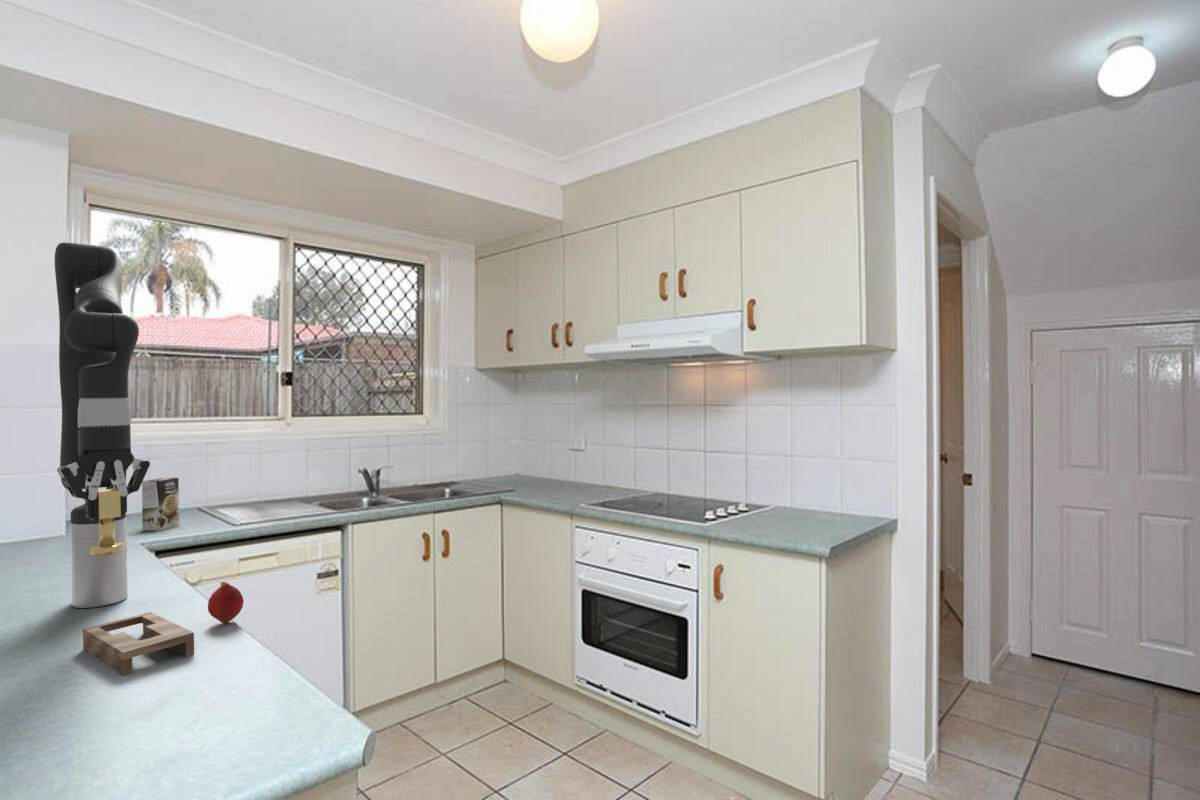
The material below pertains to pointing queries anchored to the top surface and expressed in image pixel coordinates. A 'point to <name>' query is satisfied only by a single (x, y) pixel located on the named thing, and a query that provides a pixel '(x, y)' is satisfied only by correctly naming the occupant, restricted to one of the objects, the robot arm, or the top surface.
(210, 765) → the top surface
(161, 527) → the coffee box
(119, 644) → the keyhole plate
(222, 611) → the onion
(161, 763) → the top surface
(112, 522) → the keyhole peg
